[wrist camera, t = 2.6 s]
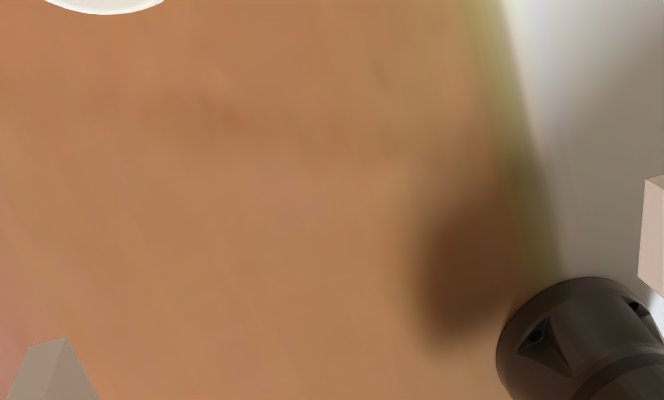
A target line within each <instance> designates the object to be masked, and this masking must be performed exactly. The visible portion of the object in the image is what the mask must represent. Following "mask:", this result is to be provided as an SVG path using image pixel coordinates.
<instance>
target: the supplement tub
mask: <svg viewBox="0 0 664 400" xmlns="http://www.w3.org/2000/svg"><path fill="white" fill-rule="evenodd" d="M46 1H48V2H50V3H53V4H55V5H58V6H60V7H63V8H66V9H70V10H74V11H78V12H83V13H89V14H103V15H106V14H122V13H130V12H135V11H139V10H143V9H147V8H149V7H152V6H154V5H156V4H158V3H161V2H162V1H164V0H46Z"/></svg>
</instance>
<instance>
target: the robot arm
mask: <svg viewBox="0 0 664 400" xmlns="http://www.w3.org/2000/svg"><path fill="white" fill-rule="evenodd" d="M637 277H639V278H640V279H641V280H642V281H643V282H645V283H646V284H647V285H648V286H650V287H651V288H652V289H653V290H654V291H656V292H657V293H658V294H659V295H661V296H662V297H663V298H664V174H663V175H659V176H655V177H652V178H648V179H645V191H644V203H643V215H642V227H641V239H640V251H639V264H638V276H637ZM496 368H497V373H498V376H499V378H500V380H501V382H502V384H503V385H504V387H505V388H506V390H507V391H508V393H509V395H510V396H511V398H512V399H513V400H664V338H663V336H662V334H661V332H660V331H659V329H658V327H657V325H656V323H655V321H654V319H653V317H652V316H651V314H650V312H649V310H648V309H647V308H646V306H645V305H644V304H643V303H642V302H641V301H640V300H639V299H638V298H637V297H636V296H634V295H633V294H632V293H631V292H630V291H629V290H627V289H626V288H625V287H624V286H622V285H620V284H619V283H617V282H614V281H612V280H608V279H604V278H594V277H589V278H579V279H574V280H570V281H566V282H563V283H560V284H558V285H555V286H553V287H551V288H549V289H547V290H545V291H543V292H542V293H540V294H539V295H537V296H536V297H534V298H533V299H532V300H530V301H529V302H528V303H527V304H525V305H524V306H523V307H522V308H521V309H520V310H519V311H518V312H517V313H516V315H515V316H514V317H513V318H512V320H511V321H510V322H509V324H508V325H507V327H506V328H505V330H504V332H503V334H502V336H501V339H500V341H499V344H498V348H497V353H496ZM6 400H101V399H100V397H99V396H98V394H97V392H96V390H95V388H94V386H93V384H92V383H91V381H90V379H89V377H88V375H87V373H86V371H85V370H84V368H83V366H82V364H81V362H80V360H79V358H78V357H77V355H76V353H75V351H74V349H73V347H72V345H71V343H70V342H69V340H68V338H67V336H65V337H61V338H57V339H54V340H50V341H46V342H43V343H39V344H35V345H31V346H29V348H28V350H27V353H26V355H25V357H24V359H23V362H22V364H21V366H20V369H19V371H18V373H17V375H16V378H15V380H14V382H13V385H12V387H11V389H10V391H9V394H8V396H7V398H6Z"/></svg>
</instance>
